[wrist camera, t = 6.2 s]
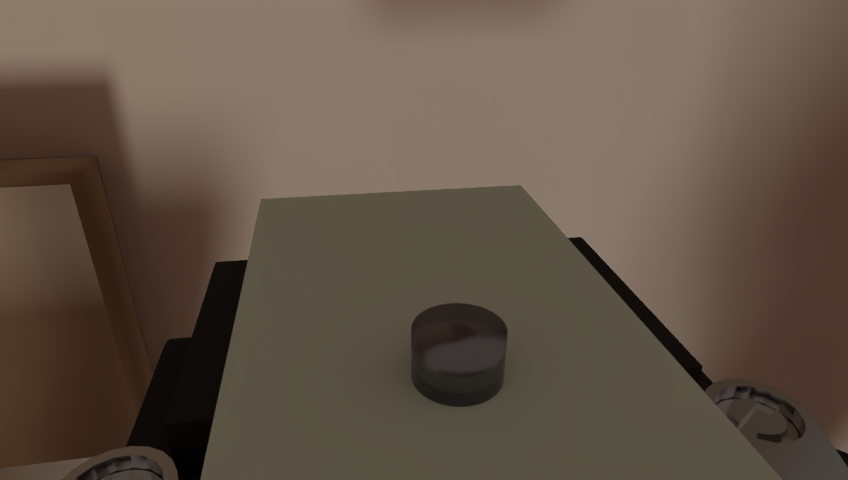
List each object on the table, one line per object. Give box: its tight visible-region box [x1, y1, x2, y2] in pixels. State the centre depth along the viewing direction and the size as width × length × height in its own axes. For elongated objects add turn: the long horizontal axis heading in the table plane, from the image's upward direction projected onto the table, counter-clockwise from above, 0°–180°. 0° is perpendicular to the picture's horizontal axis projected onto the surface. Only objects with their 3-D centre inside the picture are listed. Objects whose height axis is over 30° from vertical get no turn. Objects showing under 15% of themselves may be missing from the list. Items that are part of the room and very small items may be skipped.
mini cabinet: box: [200, 185, 782, 480], centre depth 8 cm, size 5×5×8 cm
